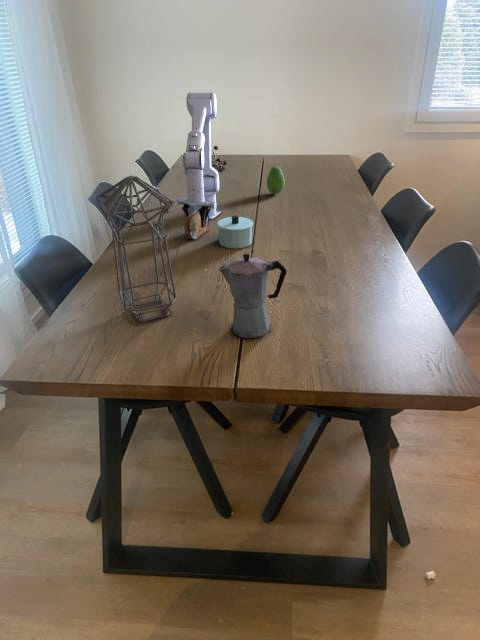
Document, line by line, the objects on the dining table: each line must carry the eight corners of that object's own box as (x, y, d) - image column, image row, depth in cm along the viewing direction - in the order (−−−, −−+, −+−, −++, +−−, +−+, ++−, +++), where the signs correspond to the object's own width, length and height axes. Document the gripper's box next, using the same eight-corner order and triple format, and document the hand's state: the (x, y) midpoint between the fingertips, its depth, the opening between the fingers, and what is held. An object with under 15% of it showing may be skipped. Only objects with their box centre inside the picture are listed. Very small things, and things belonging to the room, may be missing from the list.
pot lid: (211, 229, 152) (211, 220, 150) (226, 217, 161) (225, 208, 160) (245, 234, 148) (245, 225, 146) (258, 222, 158) (258, 213, 156)
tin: (191, 242, 157) (189, 219, 153) (183, 241, 158) (181, 218, 154) (210, 228, 169) (209, 206, 165) (202, 227, 170) (201, 205, 166)
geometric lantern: (126, 333, 110) (101, 190, 92) (114, 303, 123) (89, 171, 104) (187, 319, 116) (176, 180, 97) (170, 291, 128) (157, 164, 109)
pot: (213, 245, 155) (213, 227, 152) (227, 233, 164) (226, 216, 161) (244, 250, 152) (244, 232, 148) (256, 238, 160) (256, 220, 157)
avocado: (264, 195, 202) (264, 167, 195) (269, 190, 208) (270, 163, 201) (281, 197, 199) (282, 169, 193) (286, 192, 205) (287, 164, 199)
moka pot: (220, 320, 115) (217, 246, 104) (280, 316, 116) (283, 244, 105) (221, 341, 107) (219, 264, 96) (286, 338, 108) (290, 261, 97)
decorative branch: (223, 161, 229) (209, 137, 250) (213, 176, 233) (200, 152, 254) (240, 170, 236) (225, 147, 256) (231, 185, 240) (217, 160, 260)
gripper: (170, 188, 154) (174, 227, 161) (209, 193, 149) (211, 232, 156) (180, 183, 159) (183, 220, 166) (218, 187, 154) (219, 225, 162)
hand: (197, 225), depth 162 cm, fingers open, 4 cm apart
